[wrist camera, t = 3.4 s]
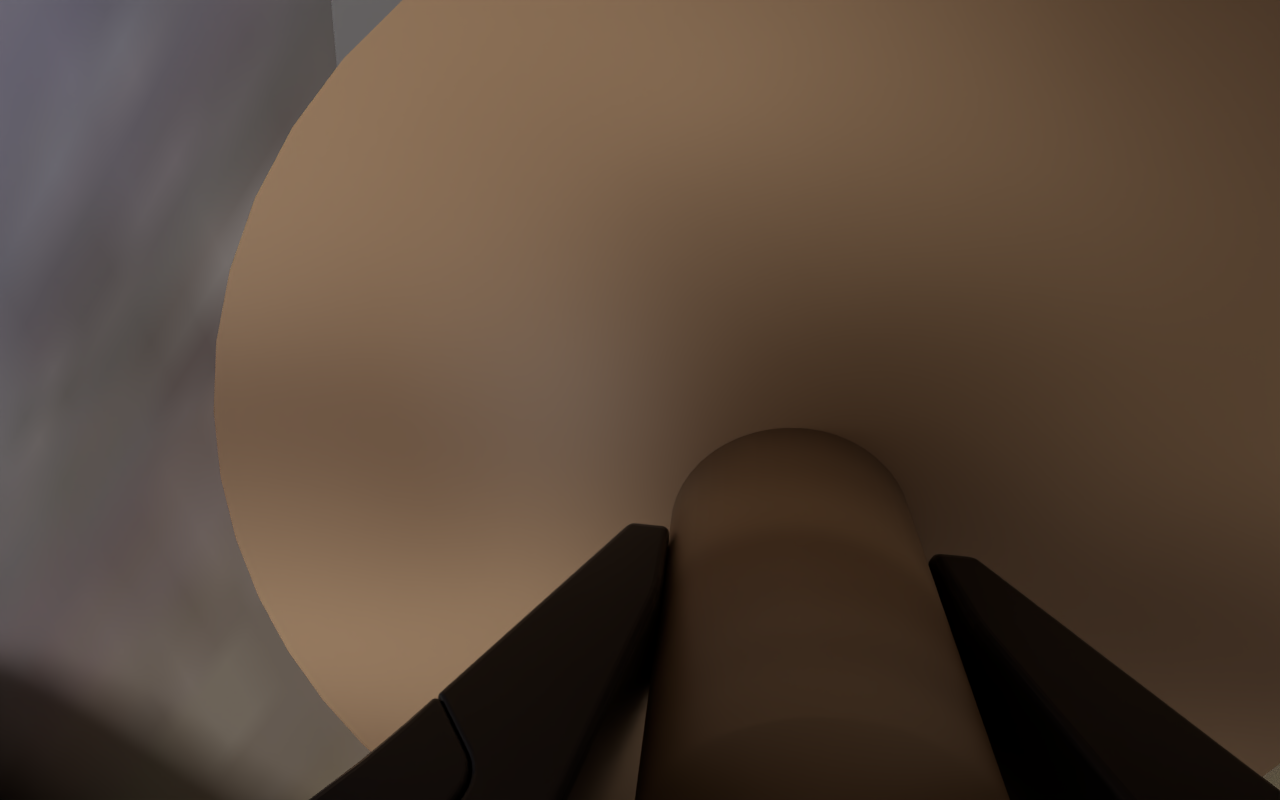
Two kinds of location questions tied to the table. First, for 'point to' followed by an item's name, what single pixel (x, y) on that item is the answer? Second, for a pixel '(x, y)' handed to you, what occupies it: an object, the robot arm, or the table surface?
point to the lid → (774, 362)
